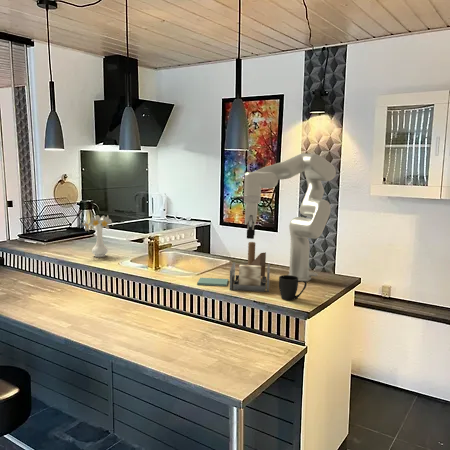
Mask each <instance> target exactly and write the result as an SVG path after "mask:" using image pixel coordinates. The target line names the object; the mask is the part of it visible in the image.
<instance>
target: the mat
mask: <svg viewBox="0 0 450 450" xmlns="http://www.w3.org/2000/svg"><path fill="white" fill-rule="evenodd" d="M228 283H229V279H228V278H216V277H215V278H213V277H200V278H199V279H198V281H197V283H196V285H197V286H208V285H209V286H210V287H227V286H228Z"/></svg>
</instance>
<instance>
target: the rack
mask: <svg viewBox="0 0 450 450" xmlns="http://www.w3.org/2000/svg"><path fill="white" fill-rule="evenodd" d="M270 265H271V264H270V263H267V271H266V272H267V273H266V275H265V276H263V279H262V282H261V283H260V286H256V285H239V281H237V279H238V278H239V274H236V262H235V261H233V262H232V265H231V267H230V270H229V291H239V292H240V291H241V292H258V293H259V292H262V293H263V292H264V293H269V292H270V272H271V267H270Z"/></svg>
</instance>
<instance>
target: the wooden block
mask: <svg viewBox="0 0 450 450" xmlns="http://www.w3.org/2000/svg"><path fill="white" fill-rule="evenodd" d="M247 248H248V249H247V265H256V266H261V276H265V277H266V258H267V252H260V253H259V254H258V255H257V256H256V242H255V241H248V245H247Z"/></svg>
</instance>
